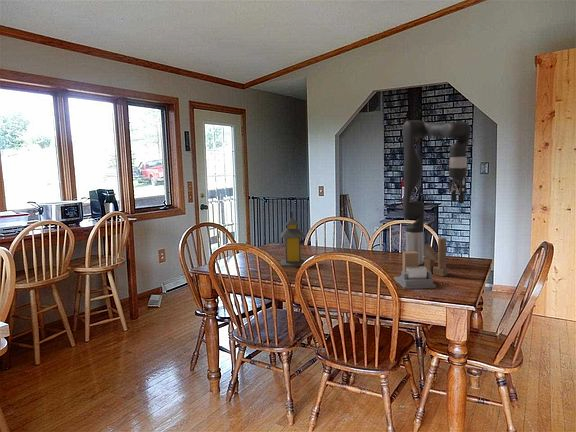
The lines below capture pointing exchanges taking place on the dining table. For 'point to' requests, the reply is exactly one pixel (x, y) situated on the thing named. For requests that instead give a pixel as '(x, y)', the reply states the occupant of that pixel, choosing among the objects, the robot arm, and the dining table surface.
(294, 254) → the lantern
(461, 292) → the dining table surface
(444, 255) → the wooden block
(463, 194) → the robot arm
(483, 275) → the dining table surface
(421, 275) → the pale grey block
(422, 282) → the post footing
